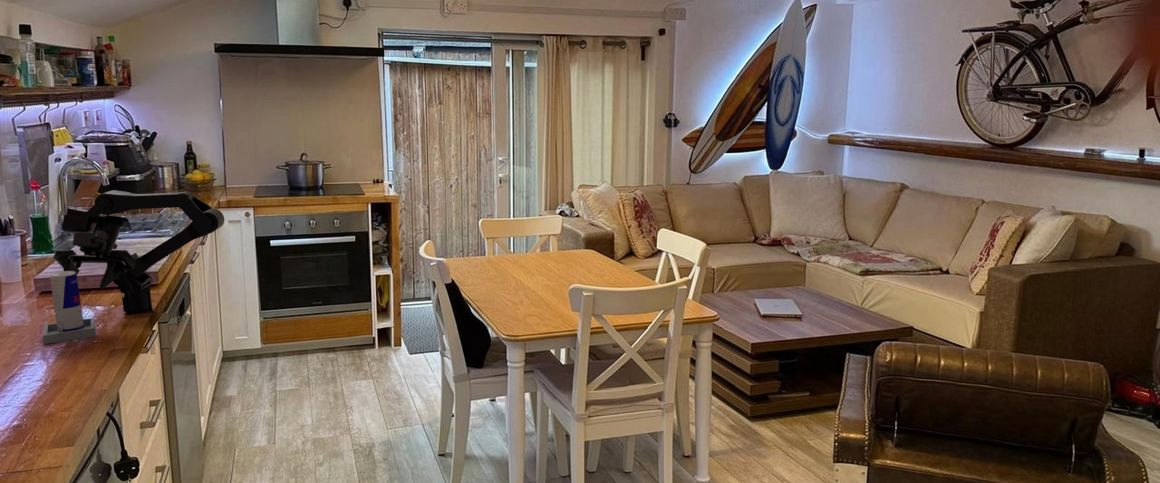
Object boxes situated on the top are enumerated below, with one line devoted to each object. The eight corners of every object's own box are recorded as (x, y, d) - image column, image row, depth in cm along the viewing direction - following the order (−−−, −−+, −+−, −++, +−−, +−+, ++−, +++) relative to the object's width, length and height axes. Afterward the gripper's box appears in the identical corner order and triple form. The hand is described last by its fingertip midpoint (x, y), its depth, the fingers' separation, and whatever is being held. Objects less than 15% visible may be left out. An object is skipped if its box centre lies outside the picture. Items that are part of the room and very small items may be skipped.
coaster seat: (95, 325, 216) (94, 317, 215) (95, 336, 207) (94, 328, 206) (45, 332, 211) (44, 324, 210) (44, 344, 201) (42, 335, 201)
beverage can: (73, 335, 206) (64, 276, 203) (52, 334, 207) (43, 275, 204) (89, 328, 211) (81, 270, 208) (70, 328, 212) (61, 270, 209)
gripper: (53, 218, 215) (29, 271, 206) (124, 219, 214) (103, 271, 206) (76, 242, 224) (54, 293, 216) (144, 243, 224) (125, 294, 215)
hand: (83, 287), depth 213 cm, fingers open, 9 cm apart
